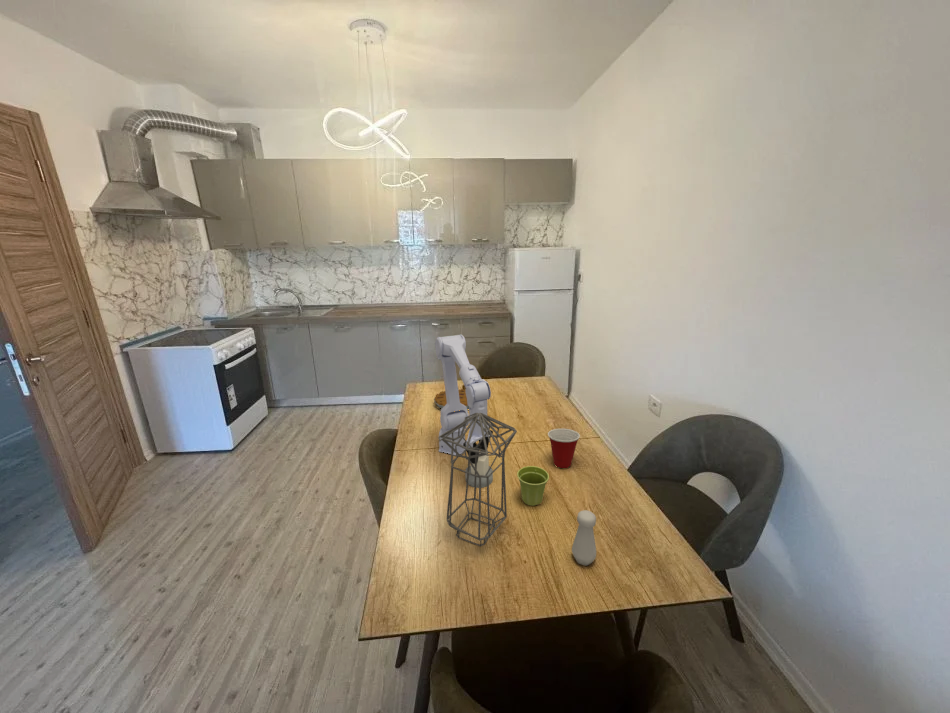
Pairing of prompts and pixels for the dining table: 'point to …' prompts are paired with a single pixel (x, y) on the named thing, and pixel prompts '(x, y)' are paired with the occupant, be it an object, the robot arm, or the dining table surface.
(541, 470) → the plant pot
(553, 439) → the plastic cup
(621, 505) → the dining table surface
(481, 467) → the cream block
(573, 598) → the dining table surface
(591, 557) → the salt shaker
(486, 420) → the geometric lantern
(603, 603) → the dining table surface
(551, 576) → the dining table surface
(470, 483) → the grey disc
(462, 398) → the pie
